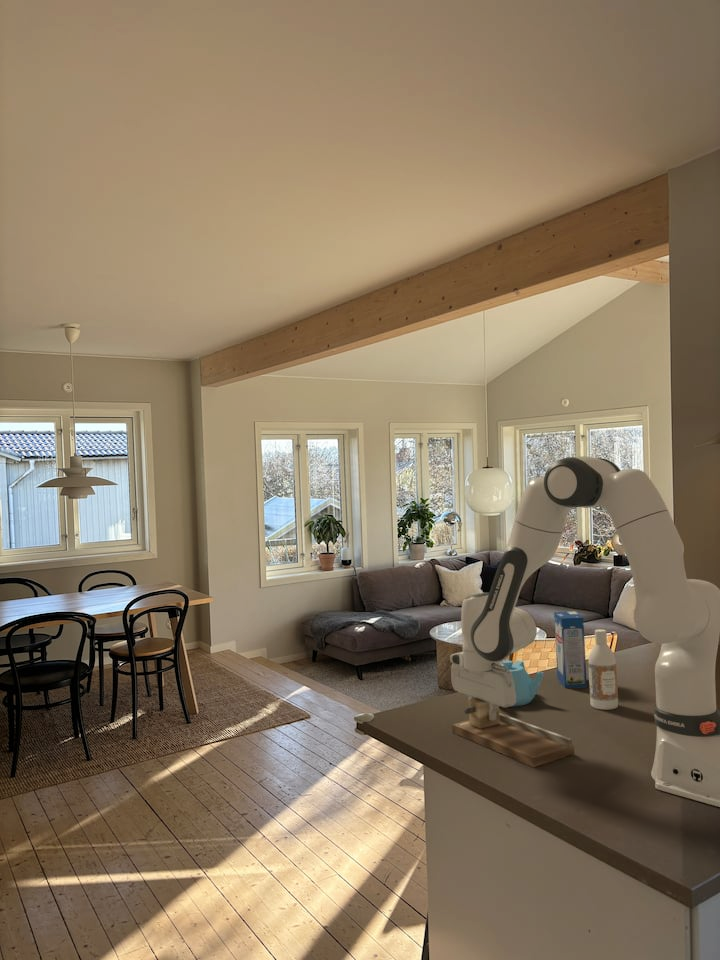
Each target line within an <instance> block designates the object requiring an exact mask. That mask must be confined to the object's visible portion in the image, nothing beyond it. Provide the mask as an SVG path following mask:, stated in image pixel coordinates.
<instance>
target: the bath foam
mask: <svg viewBox="0 0 720 960" xmlns="http://www.w3.org/2000/svg"><path fill="white" fill-rule="evenodd" d="M607 635H608V634H607V630H606V629H602V628H601V629H599V628H598V629H595V630H594V641H595V644H594V645H593V647H592V649H591V651H590V653H589V655H588V659H587V660H588V661H587V662H588V681H589V682H588V683H589V697H590V698H589V699H590V700H589V701H590V706H591V707H592V708H593V709H596V710H604V711H609V710H614V709H617V708H618V706H619V696H618V695H619V694H618V693H619V692H618V690H619V689H618V674H617V661H616V656H615V654H614V652H613V650H612V649H611V647H610V646H609V645H608V636H607Z"/></svg>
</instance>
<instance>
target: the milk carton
mask: <svg viewBox="0 0 720 960" xmlns="http://www.w3.org/2000/svg"><path fill="white" fill-rule="evenodd" d="M553 618H554V632H555V633H554V636H555V637H554V638H555V654H556V655H555V657H556V673H557V674H556V676H557V680H558V681H559V683H561V685H562V687H564V689H571V688H573V689H575V688H588V684H587V662H586V646H585V645H586V644H585V643H586V642H585V625H584V624H585V623H584V622H585V621H584V617H583V616H582V615H581V614H579V613H578V612H577V611H576V610H575V611H554V612H553Z"/></svg>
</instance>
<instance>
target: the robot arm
mask: <svg viewBox="0 0 720 960" xmlns="http://www.w3.org/2000/svg"><path fill="white" fill-rule="evenodd" d="M656 487H657V486H655V484H654V483H653V481H652V480H651V478H650V477H649V475H648V474H647V473H646V472H644V471H643V470H640V469H637V468H627V469H623V470H621V469H620V468H619V466H618V465H617V464H615V463H614V462H612V461H610V460H608V459H606V458H601V457H598V458H596V457H591V456H587V455H586V456H584V455H583V456H574V457H573V456H572V457H571V456H568V457H563V458H561V459H560V458H559V460H556V461H555V462H553V463H551V465H550V466H549V467H548V468H547V470H546V471H545V474H544V476H538V477H534V478H532V479H531V480H530V481H529V482H528V484H527V485H526V486H525V488H524V491H523V493H522V496H521V498H520V500H519V503H518V506H517V509H516V514H515V517H514V520H513V524H512V528H511V532H510V535H509V539H508V541H507V544H506V547H505V550H504V552H503V554H502V557H501V559H500V562H499V564H498V567H497V569H496V571H495V575H494V578H493V580H492V583H491V587H490V590H489V592H488V591H487V592H480V593H476V594H471V595H468V596H465V598H464V599H463V600H462V604H461V611H460V615H461V616H460V619H461V621H460V623H461V634H462V636H463V642H462V651H459V652H456V653H452V654H450V656H449V657H450V658H449V660H450V663H452V665H451V669H450V674H451V675H450V676H451V685H452V688H453V690H454V691H455V692H459V693H461V694H464V695H467V697H468V700H469V699H473V698H478V699H481V700H484V701H487V702H489V706H490V710H489V712H487V719H489V720H491V721H493V720H496V718H497V717H496V712H497V710H498V708H499V709H500V707H501V708H509V707H514V706H513V705H514V704H515V703H516V692H515V685H514V680H513V677H512V674H511V672H510V671H509V670H508V668H507V667H506V666H501V661H502V660H503V659H505V658H507V657H508V656H509V655H511V654H514V653H517V652H519V651H520V650H521V649H524V648H526V647H528V646H530V644H532V643H533V642H534V641H535V639H536V637H537V631H538V629H537V623H536V621H535V618H534V617H533V616H532V614H531V613H530V612H529V611H528V610H526V609H523V608H519V607H516V606H517V603H518V599H519V596H520V593H521V591H522V588H523V586H524V584H525V582H526V581H527V580H528V579H529V578H530V577H531V575H533V573H534V572H536V571H537V570H539V569H540V568H541V567H543V566H544V565H545V564H547V563H548V562H549V561H550V560H552V558H553V557H554V556H555V554H556V551H557V550H558V548H559V546H560V543H561V540H562V537H563V533H564V528H565V524H566V520H567V517H568V514H569V513H570V512H571V510H572V509H574V508H582V509H589V508H595V507H601V508H603V509H604V510H605V511H606V512H607V514H608V515H609V518H610V520H611V522H612V525H613V527H614V529H615V532H616V533H617V537H618V539H619V541H620V544H621V547H622V548H623V551H624V554H625V556H626V558H627V562H628V563H629V568H630V570H631V571H630V572H631V574H632V575H631V576H632V580H633V586H634V587H633V588H634V593H635V607H634V610H633V622H634V625H635V628H636V630H637V631H638V632H639V634H640V635H641V636H642V637H643V638H644V639H646V640H647V641H649V642H651V643H653V644H657V645H661V647H660V651H659V656H658V658H657V660H656V662H655V664H654V665H655V666H654V680H655V682H654V684H655V685H654V686H655V704H654V706H653V709H654V711H653V712H654V714H653V717H654V724H655V726H656V740H655V741H656V743H655V753H654V760H653V765H652V769H651V772H650V775H651V778H652V779H653V780H654V782H655V783H654V787H655V789H657V790H659V791H662V792H666V793H669V794H673V795H675V796H679V797H683V798H687V799H691V800H693V801H697V802H701V803H705V804H707V805H710V806H711V805H712V806H715V807H719V808H720V711H719V709H718V708H717V694H716V663H717V662H716V661H717V654H718V648H719V641H720V587H718V586H717V585H715V584H714V583H712V582H710V581H707V580H702V579H694V578H690V579H689V578H687V573H686V569H685V560H684V552H685V547H684V543H683V540H682V538H681V536H680V534H679V532H678V530H677V527H676V525H675V522H674V520H673V518H672V516H671V514H670V512H669V509H668V507H667V505H666V503H665V501H664V500H663V497H662V495H661V493H659V490H658V488H656Z"/></svg>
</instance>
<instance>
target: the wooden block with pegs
mask: <svg viewBox="0 0 720 960" xmlns="http://www.w3.org/2000/svg"><path fill="white" fill-rule="evenodd" d="M489 710H490V706H489V702H487V701H484V700H481V699H478V698H473V699H469V698H468V707H464V709H463V711H464V713H465V714H466V715H469V717H468V720H469V722H470V725H473V726H475V727H477V728H480V729H481V728H485V727H489V726H492V725H496V724H500V722H499V713H500V707H499V708H498V710H497V712H496V717H497V718H496V720H493V721H491V720H489V719H487V712H489Z"/></svg>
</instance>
